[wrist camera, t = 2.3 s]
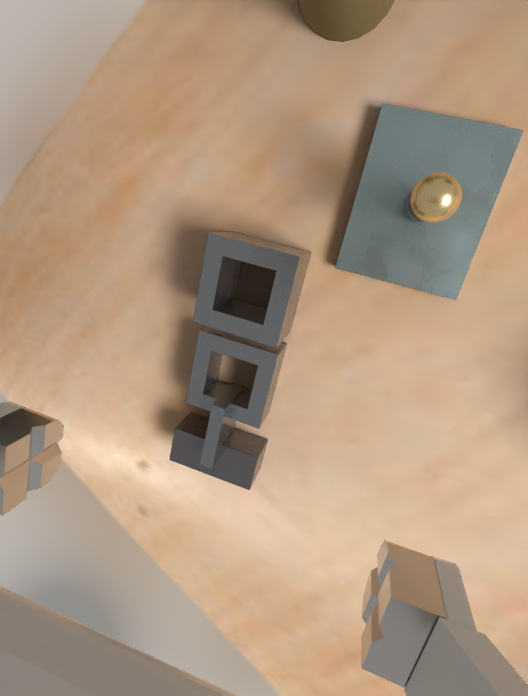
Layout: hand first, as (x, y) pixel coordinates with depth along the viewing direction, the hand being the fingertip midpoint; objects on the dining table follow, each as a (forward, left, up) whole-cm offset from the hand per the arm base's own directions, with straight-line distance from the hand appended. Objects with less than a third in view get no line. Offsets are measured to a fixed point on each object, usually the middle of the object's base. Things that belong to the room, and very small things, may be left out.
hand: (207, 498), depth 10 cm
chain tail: (+8, -5, -22) cm, 24 cm away
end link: (-1, -5, -22) cm, 22 cm away
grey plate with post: (-9, +4, -22) cm, 24 cm away
